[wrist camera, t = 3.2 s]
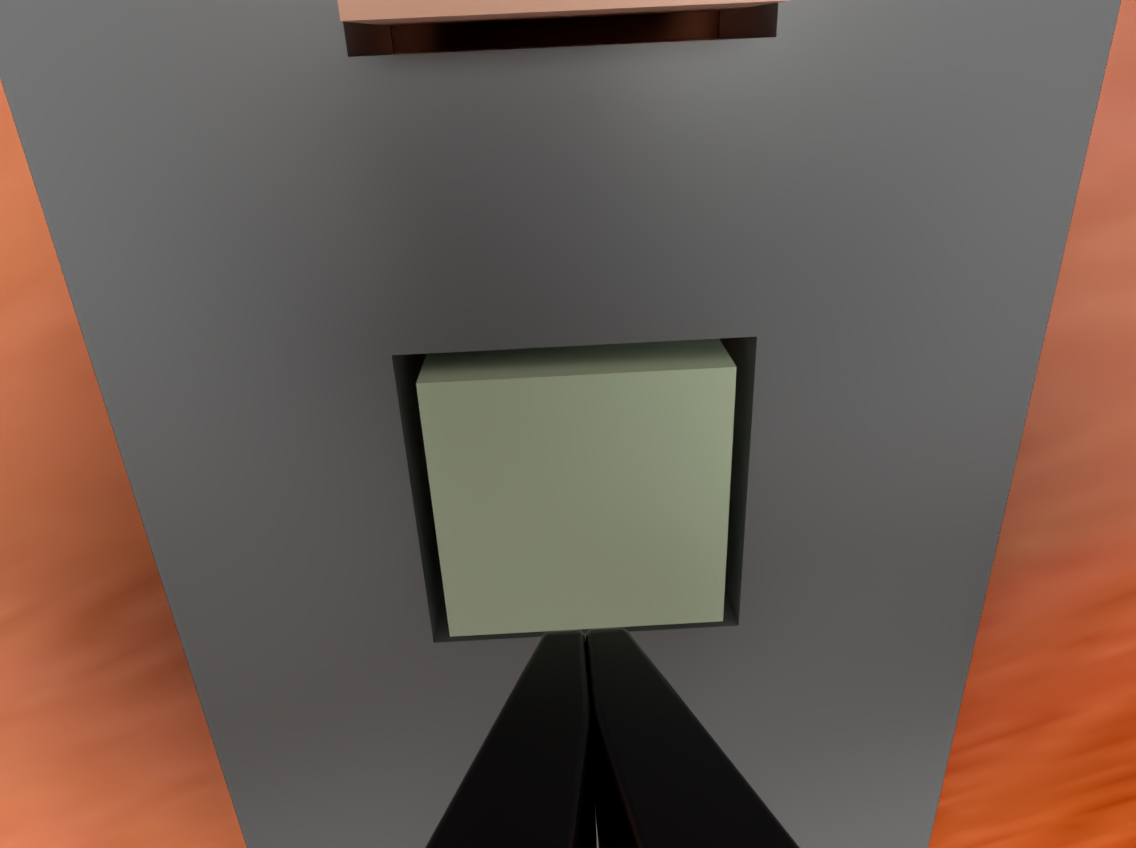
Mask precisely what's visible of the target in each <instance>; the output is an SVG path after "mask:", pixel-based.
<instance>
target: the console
mask: <svg viewBox="0 0 1136 848" xmlns="http://www.w3.org/2000/svg"><path fill="white" fill-rule="evenodd" d="M1120 3H1121V0H790V1H784V2H778V3H772V4H766V5H759V6H753V7H747V8H741V9H735V10H726V11H720V27H719V38H712V39H690V40H669V41H647V42H625V43H604V44H582V45H561V46H539V47H517V48H496V49H474V50H453V51H431V52H409V53H393V46H392V38H391V30H390V26H383V25H374V24H364V23H355V22H345V21H340V15H339V8H338V1H337V0H0V78H1V81H2V85H3V88H4V91H5V94H6V97H7V100H8V103H9V106H10V110H11V113H12V116H13V119H14V122H15V125H16V128H17V131H18V134H19V138H20V141H21V144H22V147H23V150H24V153H25V156H26V159H27V163H28V166H29V169H30V172H31V175H32V178H33V181H34V184H35V188H36V191H37V194H38V197H39V200H40V203H41V206H42V209H43V213H44V216H45V219H46V222H47V225H48V228H49V231H50V234H51V238H52V241H53V244H54V247H55V250H56V253H57V256H58V259H59V262H60V266H61V269H62V272H63V275H64V278H65V281H66V284H67V287H68V291H69V294H70V297H71V300H72V303H73V306H74V309H75V312H76V316H77V319H78V322H79V325H80V328H81V331H82V334H83V337H84V341H85V344H86V347H87V350H88V353H89V356H90V359H91V362H92V366H93V369H94V372H95V375H96V378H97V381H98V384H99V387H100V390H101V394H102V397H103V400H104V403H105V406H106V409H107V412H108V415H109V419H110V422H111V425H112V428H113V431H114V434H115V437H116V440H117V444H118V447H119V450H120V453H121V456H122V459H123V462H124V465H125V469H126V472H127V475H128V478H129V481H130V484H131V487H132V490H133V494H134V497H135V500H136V503H137V506H138V509H139V512H140V515H141V518H142V522H143V525H144V528H145V531H146V534H147V537H148V540H149V543H150V547H151V550H152V553H153V556H154V559H155V562H156V565H157V568H158V572H159V575H160V578H161V581H162V584H163V587H164V590H165V593H166V597H167V600H168V603H169V606H170V609H171V612H172V615H173V618H174V622H175V625H176V628H177V631H178V634H179V637H180V640H181V643H182V646H183V650H184V653H185V656H186V659H187V662H188V665H189V668H190V671H191V675H192V678H193V681H194V684H195V687H196V690H197V693H198V696H199V700H200V703H201V706H202V709H203V712H204V715H205V718H206V721H207V725H208V728H209V731H210V734H211V737H212V740H213V743H214V746H215V749H216V753H217V756H218V759H219V762H220V765H221V768H222V771H223V774H224V778H225V781H226V784H227V787H228V790H229V793H230V796H231V799H232V803H233V806H234V809H235V812H236V815H237V818H238V821H239V824H240V828H241V831H242V834H243V837H244V840H245V843H246V846H247V848H425V847H426V845H427V843H428V841H429V840H430V838H431V836H432V834H433V832H434V831H435V829H436V827H437V825H438V823H439V822H440V820H441V818H442V816H443V814H444V813H445V811H446V809H447V807H448V805H449V804H450V802H451V800H452V798H453V796H454V795H455V793H456V791H457V789H458V787H459V785H460V784H461V782H462V780H463V778H464V776H465V775H466V773H467V771H468V769H469V767H470V766H471V764H472V762H473V760H474V758H475V757H476V755H477V753H478V751H479V749H480V748H481V746H482V744H483V742H484V740H485V739H486V737H487V735H488V733H489V731H490V729H491V728H492V726H493V724H494V722H495V720H496V719H497V717H498V715H499V713H500V711H501V710H502V708H503V706H504V704H505V702H506V701H507V699H508V697H509V695H510V693H511V692H512V690H513V688H514V686H515V684H516V683H517V681H518V679H519V677H520V675H521V674H522V672H523V670H524V668H525V666H526V664H527V663H528V661H529V659H530V657H531V655H532V654H533V652H534V650H535V648H536V646H537V645H538V643H539V641H540V639H541V638H542V636H543V635H544V634H545V633H547V632H550V631H542V632H524V633H506V634H488V635H471V636H453V637H450V634H449V626H448V619H447V611H446V604H445V596H444V589H443V582H442V574H441V567H440V559H439V552H438V544H437V537H436V529H435V522H434V515H433V507H432V500H431V492H430V485H429V477H428V470H427V462H426V455H425V447H424V440H423V433H422V425H421V418H420V410H419V403H418V395H417V388H416V382H417V379H418V376H419V374H420V371H421V368H422V365H423V362H424V359H425V357H426V354H428V353H448V352H467V351H487V350H506V349H525V348H545V347H564V346H584V345H603V344H623V343H642V342H661V341H681V340H700V339H720V341H721V342H722V344H723V346H724V347H725V349H726V351H727V352H728V354H729V355H730V357H731V359H732V360H733V362H734V364H735V365H736V367H737V368H736V387H735V406H734V425H733V444H732V462H731V481H730V500H729V519H728V538H727V557H726V575H725V594H724V613H723V621H719V622H701V623H684V624H666V625H648V626H630V627H620V628H624V629H626V630H627V631H628V632H629V633H630V634H631V636H632V637H633V638H634V639H635V641H636V642H637V643H638V644H639V646H640V647H641V648H642V649H643V651H644V652H645V653H646V654H647V656H648V657H649V658H650V659H651V661H652V662H653V663H654V665H655V666H656V667H657V668H658V670H659V671H660V672H661V673H662V675H663V676H664V677H665V678H666V680H667V681H668V682H669V683H670V685H671V686H672V687H673V688H674V690H675V691H676V692H677V693H678V695H679V696H680V697H681V699H682V700H683V701H684V702H685V704H686V705H687V706H688V707H689V709H690V710H691V711H692V712H693V714H694V715H695V716H696V717H697V719H698V720H699V721H700V722H701V724H702V725H703V726H704V728H705V729H706V730H707V731H708V733H709V734H710V735H711V736H712V738H713V739H714V740H715V741H716V743H717V744H718V745H719V746H720V748H721V749H722V750H723V751H724V753H725V754H726V755H727V756H728V758H729V759H730V760H731V762H732V763H733V764H734V765H735V767H736V768H737V769H738V770H739V772H740V773H741V774H742V775H743V777H744V778H745V779H746V780H747V782H748V783H749V784H750V785H751V787H752V788H753V789H754V791H755V792H756V793H757V794H758V796H759V797H760V798H761V799H762V801H763V802H764V803H765V804H766V806H767V807H768V808H769V809H770V811H771V812H772V813H773V814H774V816H775V817H776V818H777V819H778V821H779V822H780V823H781V825H782V826H783V827H784V828H785V830H786V831H787V832H788V833H789V835H790V836H791V837H792V838H793V840H794V841H795V842H796V843H797V845H798V846H799V847H800V848H928V846H929V841H930V837H931V833H932V828H933V824H934V820H935V815H936V811H937V806H938V802H939V798H940V793H941V789H942V784H943V780H944V776H945V771H946V767H947V762H948V758H949V754H950V749H951V745H952V741H953V736H954V732H955V727H956V723H957V719H958V714H959V710H960V705H961V701H962V697H963V692H964V688H965V683H966V679H967V675H968V670H969V666H970V662H971V657H972V653H973V648H974V644H975V640H976V635H977V631H978V626H979V622H980V618H981V613H982V609H983V604H984V600H985V596H986V591H987V587H988V583H989V578H990V574H991V569H992V565H993V561H994V556H995V552H996V547H997V543H998V539H999V534H1000V530H1001V525H1002V521H1003V517H1004V512H1005V508H1006V504H1007V499H1008V495H1009V490H1010V486H1011V482H1012V477H1013V473H1014V468H1015V464H1016V460H1017V455H1018V451H1019V446H1020V442H1021V438H1022V433H1023V429H1024V425H1025V420H1026V416H1027V411H1028V407H1029V403H1030V398H1031V394H1032V389H1033V385H1034V381H1035V376H1036V372H1037V367H1038V363H1039V359H1040V354H1041V350H1042V346H1043V341H1044V337H1045V332H1046V328H1047V324H1048V319H1049V315H1050V310H1051V306H1052V302H1053V297H1054V293H1055V288H1056V284H1057V280H1058V275H1059V271H1060V267H1061V262H1062V258H1063V253H1064V249H1065V245H1066V240H1067V236H1068V231H1069V227H1070V223H1071V218H1072V214H1073V209H1074V205H1075V201H1076V196H1077V192H1078V188H1079V183H1080V179H1081V174H1082V170H1083V166H1084V161H1085V157H1086V152H1087V148H1088V144H1089V139H1090V135H1091V130H1092V126H1093V122H1094V117H1095V113H1096V109H1097V104H1098V100H1099V95H1100V91H1101V87H1102V82H1103V78H1104V73H1105V69H1106V65H1107V60H1108V56H1109V51H1110V47H1111V43H1112V38H1113V34H1114V30H1115V25H1116V21H1117V16H1118V12H1119V8H1120ZM613 628H618V627H613ZM595 629H601V628H595ZM577 630H580V631H582V632H583V633H584V635H585V637H586V633H587V631H589V630H590V629H577ZM559 631H566V630H559Z"/></svg>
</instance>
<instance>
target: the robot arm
mask: <svg viewBox="0 0 1136 848" xmlns="http://www.w3.org/2000/svg"><path fill="white" fill-rule="evenodd" d="M596 825H597V833H596ZM597 837H598V847H599V848H800V847H799V846H798V845H797V843H796V842H795V841H794V840H793V838H792V837H791V836H790V835H789V833H788V832H787V831H786V830H785V828H784V827H783V826H782V825H781V823H780V822H779V821H778V819H777V818H776V817H775V816H774V814H773V813H772V812H771V811H770V809H769V808H768V807H767V806H766V804H765V803H764V802H763V801H762V799H761V798H760V797H759V796H758V794H757V793H756V792H755V791H754V789H753V788H752V787H751V785H750V784H749V783H748V782H747V780H746V779H745V778H744V777H743V775H742V774H741V773H740V772H739V770H738V769H737V768H736V767H735V765H734V764H733V763H732V762H731V760H730V759H729V758H728V756H727V755H726V754H725V753H724V751H723V750H722V749H721V748H720V746H719V745H718V744H717V743H716V741H715V740H714V739H713V738H712V736H711V735H710V734H709V733H708V731H707V730H706V729H705V728H704V726H703V725H702V724H701V722H700V721H699V720H698V719H697V717H696V716H695V715H694V714H693V712H692V711H691V710H690V709H689V707H688V706H687V705H686V704H685V702H684V701H683V700H682V699H681V697H680V696H679V695H678V693H677V692H676V691H675V690H674V688H673V687H672V686H671V685H670V683H669V682H668V681H667V680H666V678H665V677H664V676H663V675H662V673H661V672H660V671H659V670H658V668H657V667H656V666H655V665H654V663H653V662H652V661H651V659H650V658H649V657H648V656H647V654H646V653H645V652H644V651H643V649H642V648H641V647H640V646H639V644H638V643H637V642H636V641H635V639H634V638H633V637H632V636H631V634H630V633H629V632H628V631H627V630H626V629H624V628H620V627H618V628H601V629H590V630H589V631H587V633H586V637H585V635H584V633H583V632H582V631H580V630H566V631H550V632H547V633H545V634H544V635H543V636H542V638H541V639H540V641H539V643H538V645H537V646H536V648H535V650H534V652H533V654H532V655H531V657H530V659H529V661H528V663H527V664H526V666H525V668H524V670H523V672H522V674H521V675H520V677H519V679H518V681H517V683H516V684H515V686H514V688H513V690H512V692H511V693H510V695H509V697H508V699H507V701H506V702H505V704H504V706H503V708H502V710H501V711H500V713H499V715H498V717H497V719H496V720H495V722H494V724H493V726H492V728H491V729H490V731H489V733H488V735H487V737H486V739H485V740H484V742H483V744H482V746H481V748H480V749H479V751H478V753H477V755H476V757H475V758H474V760H473V762H472V764H471V766H470V767H469V769H468V771H467V773H466V775H465V776H464V778H463V780H462V782H461V784H460V785H459V787H458V789H457V791H456V793H455V795H454V796H453V798H452V800H451V802H450V804H449V805H448V807H447V809H446V811H445V813H444V814H443V816H442V818H441V820H440V822H439V823H438V825H437V827H436V829H435V831H434V832H433V834H432V836H431V838H430V840H429V841H428V843H427V845H426V847H425V848H597Z"/></svg>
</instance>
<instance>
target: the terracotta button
mask: <svg viewBox="0 0 1136 848" xmlns="http://www.w3.org/2000/svg"><path fill="white" fill-rule="evenodd" d="M337 1H338V8H339V15H340V21H345V22H355V23H364V24H374V25H383V26H398V25H420V24H442V23H464V22H486V21H507V20H529V19H551V18H573V17H595V16H617V15H638V14H660V13H682V12H704V11H726V10H735V9H741V8H747V7H753V6H759V5H766V4H772V3H778V2H784V1H790V0H337Z"/></svg>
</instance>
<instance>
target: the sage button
mask: <svg viewBox="0 0 1136 848" xmlns="http://www.w3.org/2000/svg"><path fill="white" fill-rule="evenodd" d="M736 368H737V367H736V365H735V364H734V362H733V360H732V359H731V357H730V355H729V354H728V352H727V351H726V349H725V347H724V346H723V344H722V342H721V341H720V339H700V340H681V341H661V342H642V343H623V344H603V345H584V346H564V347H545V348H525V349H506V350H487V351H467V352H448V353H428V354H426V357H425V359H424V362H423V365H422V368H421V371H420V374H419V376H418V379H417V382H416V388H417V395H418V403H419V410H420V418H421V425H422V433H423V440H424V447H425V455H426V462H427V470H428V477H429V485H430V492H431V500H432V507H433V515H434V522H435V529H436V537H437V544H438V552H439V559H440V567H441V574H442V582H443V589H444V596H445V604H446V611H447V619H448V626H449V634H450V637H453V636H471V635H488V634H506V633H524V632H542V631H559V630H577V629H595V628H613V627H630V626H648V625H666V624H684V623H701V622H719V621H723V613H724V594H725V575H726V557H727V538H728V519H729V500H730V481H731V462H732V444H733V425H734V406H735V387H736Z"/></svg>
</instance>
